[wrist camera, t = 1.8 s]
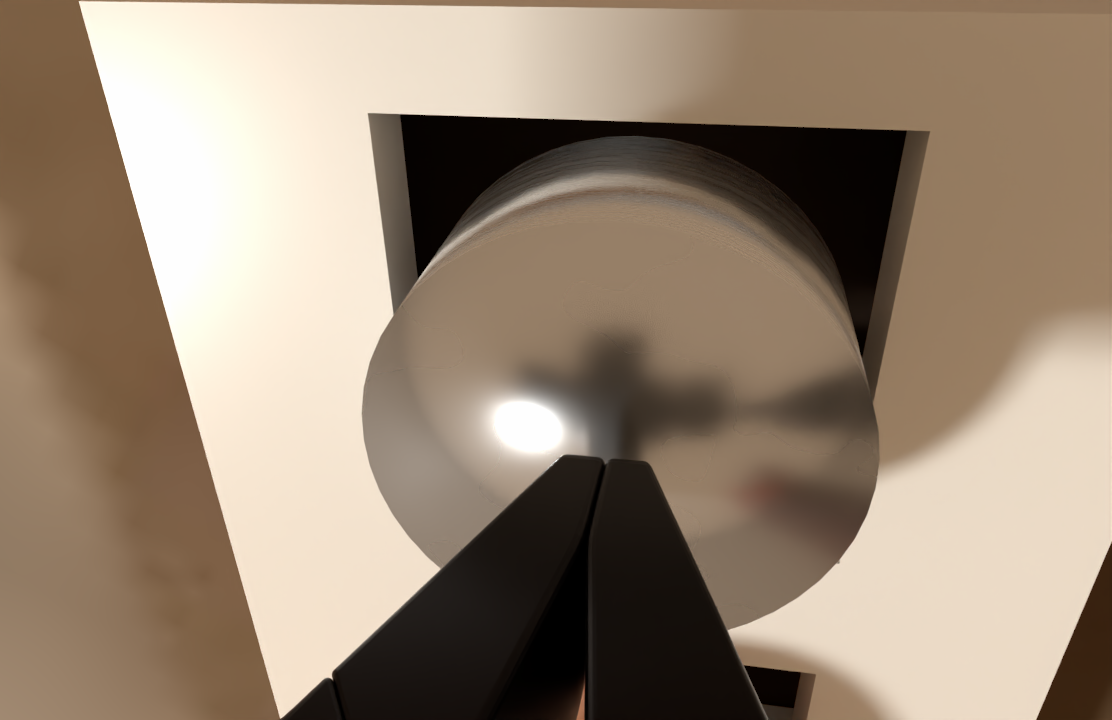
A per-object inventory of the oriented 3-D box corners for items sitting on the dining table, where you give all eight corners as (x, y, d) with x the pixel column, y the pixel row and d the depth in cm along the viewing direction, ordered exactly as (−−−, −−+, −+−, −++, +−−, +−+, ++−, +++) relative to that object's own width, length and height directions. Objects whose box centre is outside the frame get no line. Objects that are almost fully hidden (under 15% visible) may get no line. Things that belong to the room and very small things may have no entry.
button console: (1146, -42, 11) (1333, 17, 8) (901, 752, 19) (938, 948, 16) (251, -45, 13) (79, 1, 9) (381, 682, 21) (315, 845, 18)
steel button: (885, 144, 9) (932, 238, 7) (816, 518, 12) (835, 668, 10) (411, 128, 10) (326, 208, 8) (448, 483, 13) (391, 613, 11)
